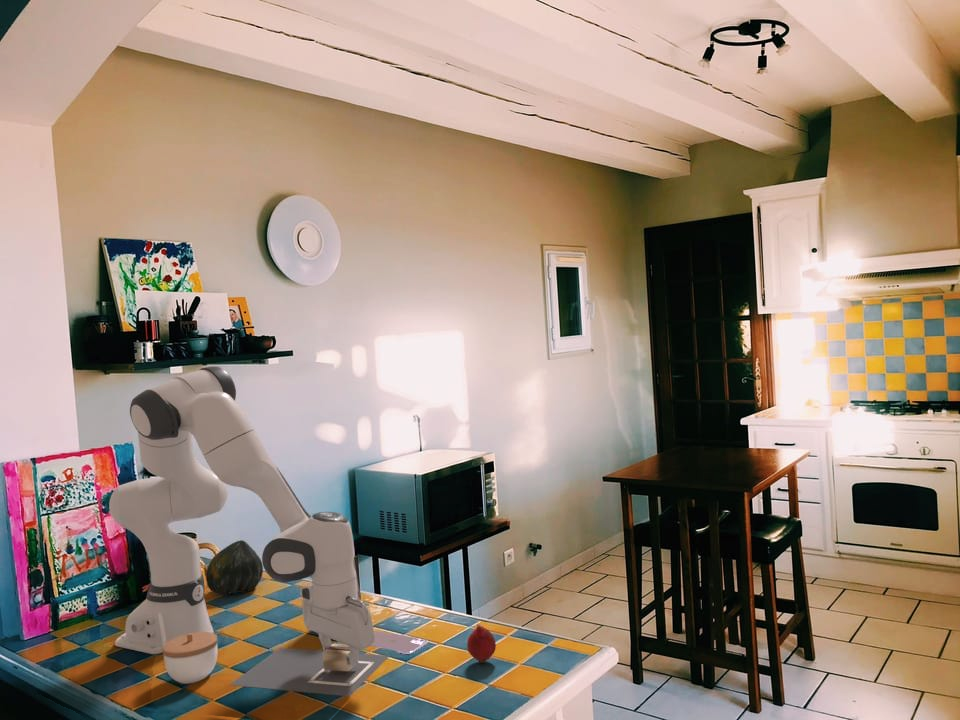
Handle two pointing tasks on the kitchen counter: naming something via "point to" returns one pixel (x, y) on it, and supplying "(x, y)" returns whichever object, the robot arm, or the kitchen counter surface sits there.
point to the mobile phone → (398, 642)
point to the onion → (481, 644)
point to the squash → (234, 569)
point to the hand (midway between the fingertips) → (340, 659)
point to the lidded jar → (191, 656)
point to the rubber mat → (308, 673)
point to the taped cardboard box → (336, 658)
